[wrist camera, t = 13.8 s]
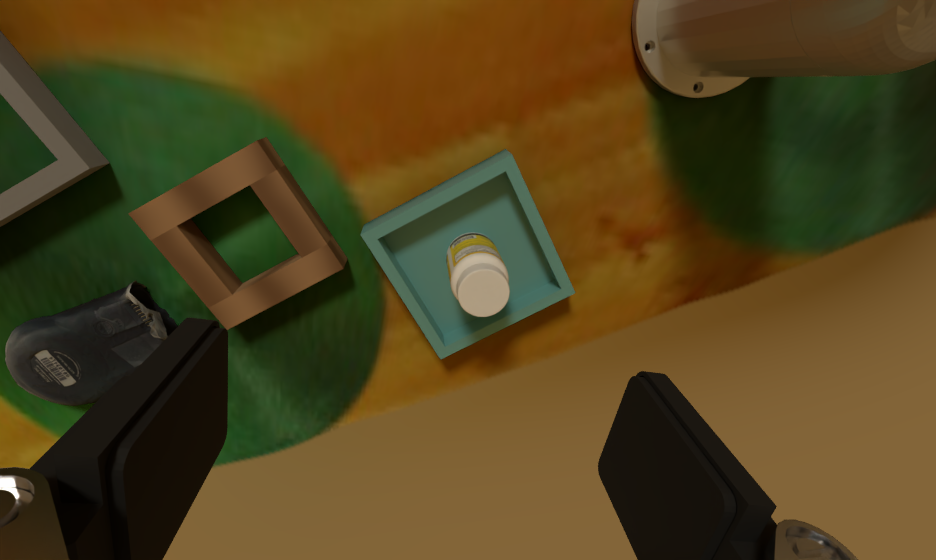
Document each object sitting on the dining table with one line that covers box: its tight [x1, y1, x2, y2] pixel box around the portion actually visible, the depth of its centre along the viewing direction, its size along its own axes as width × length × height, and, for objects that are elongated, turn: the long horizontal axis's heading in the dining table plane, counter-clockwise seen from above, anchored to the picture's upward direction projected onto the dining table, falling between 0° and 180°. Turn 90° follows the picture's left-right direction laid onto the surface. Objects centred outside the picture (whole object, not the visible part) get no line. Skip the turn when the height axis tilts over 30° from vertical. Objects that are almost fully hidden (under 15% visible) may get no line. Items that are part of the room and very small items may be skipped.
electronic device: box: [5, 281, 178, 406], centre depth 43 cm, size 9×6×15 cm
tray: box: [361, 149, 575, 359], centre depth 43 cm, size 14×14×3 cm
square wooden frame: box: [129, 137, 348, 330], centre depth 40 cm, size 12×12×2 cm
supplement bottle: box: [446, 232, 510, 317], centre depth 39 cm, size 5×5×8 cm
